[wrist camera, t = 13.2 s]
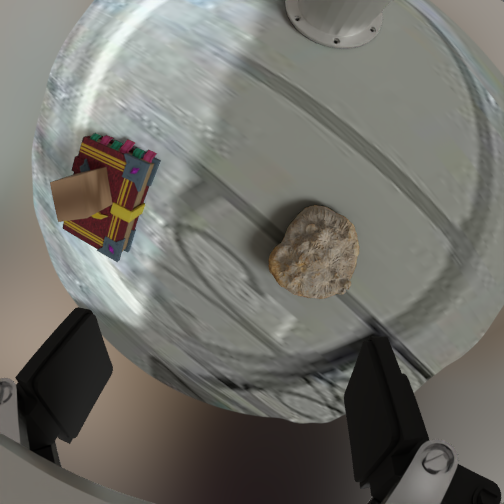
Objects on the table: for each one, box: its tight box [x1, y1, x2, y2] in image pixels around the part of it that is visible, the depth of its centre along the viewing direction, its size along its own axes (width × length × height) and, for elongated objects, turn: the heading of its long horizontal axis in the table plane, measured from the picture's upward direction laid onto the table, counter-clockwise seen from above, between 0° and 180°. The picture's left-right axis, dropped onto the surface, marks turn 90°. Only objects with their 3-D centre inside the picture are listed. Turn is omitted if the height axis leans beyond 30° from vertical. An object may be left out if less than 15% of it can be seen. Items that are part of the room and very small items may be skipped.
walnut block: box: [50, 167, 112, 222], centre depth 31 cm, size 5×5×6 cm
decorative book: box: [63, 133, 161, 262], centre depth 37 cm, size 11×16×5 cm
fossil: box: [269, 205, 359, 299], centre depth 37 cm, size 12×8×10 cm
